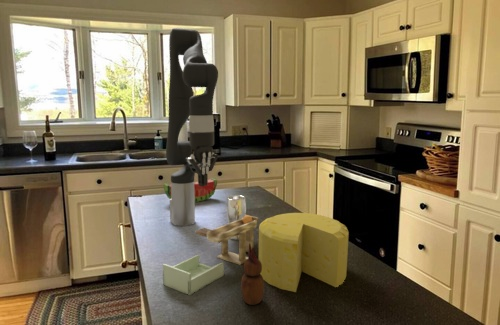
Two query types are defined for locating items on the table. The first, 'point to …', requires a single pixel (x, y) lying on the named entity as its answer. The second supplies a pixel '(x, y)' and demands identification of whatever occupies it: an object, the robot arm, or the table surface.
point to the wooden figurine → (252, 280)
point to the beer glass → (235, 209)
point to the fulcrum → (244, 241)
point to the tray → (191, 275)
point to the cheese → (302, 249)
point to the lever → (227, 230)
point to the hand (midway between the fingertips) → (202, 185)
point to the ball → (247, 219)
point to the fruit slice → (198, 190)
